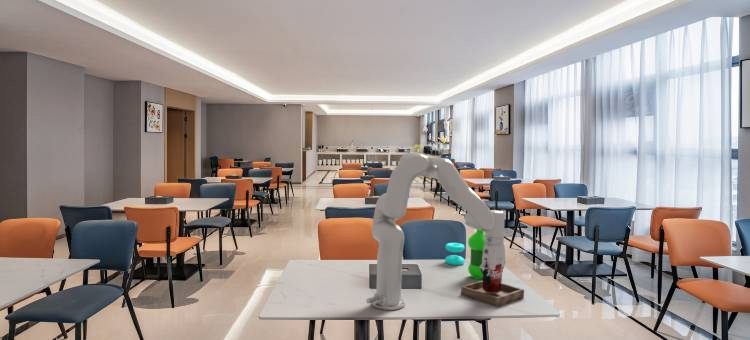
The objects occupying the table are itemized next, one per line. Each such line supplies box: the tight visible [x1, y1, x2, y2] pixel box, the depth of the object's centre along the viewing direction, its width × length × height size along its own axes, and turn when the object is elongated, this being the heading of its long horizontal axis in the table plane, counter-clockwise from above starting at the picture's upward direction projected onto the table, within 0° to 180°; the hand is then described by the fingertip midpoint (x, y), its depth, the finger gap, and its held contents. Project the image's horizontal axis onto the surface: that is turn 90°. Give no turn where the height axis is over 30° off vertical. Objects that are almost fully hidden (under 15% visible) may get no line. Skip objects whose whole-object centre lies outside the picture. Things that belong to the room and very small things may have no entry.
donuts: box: [444, 242, 465, 266], centre depth 239 cm, size 10×10×10 cm
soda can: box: [483, 264, 503, 294], centre depth 188 cm, size 7×7×12 cm
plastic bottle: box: [467, 229, 485, 280], centre depth 214 cm, size 10×10×25 cm
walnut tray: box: [460, 279, 525, 308], centre depth 188 cm, size 18×18×4 cm
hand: (492, 282), depth 188 cm, fingers closed on soda can, 7 cm apart
